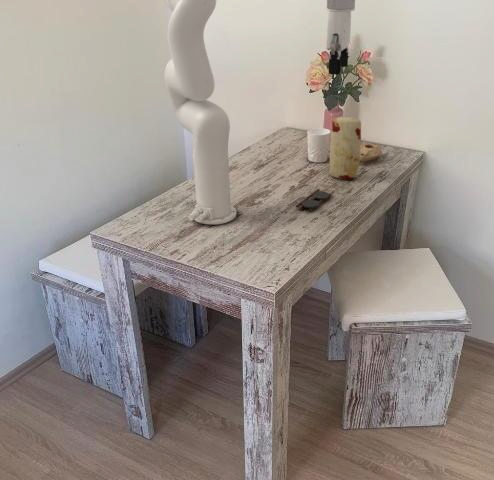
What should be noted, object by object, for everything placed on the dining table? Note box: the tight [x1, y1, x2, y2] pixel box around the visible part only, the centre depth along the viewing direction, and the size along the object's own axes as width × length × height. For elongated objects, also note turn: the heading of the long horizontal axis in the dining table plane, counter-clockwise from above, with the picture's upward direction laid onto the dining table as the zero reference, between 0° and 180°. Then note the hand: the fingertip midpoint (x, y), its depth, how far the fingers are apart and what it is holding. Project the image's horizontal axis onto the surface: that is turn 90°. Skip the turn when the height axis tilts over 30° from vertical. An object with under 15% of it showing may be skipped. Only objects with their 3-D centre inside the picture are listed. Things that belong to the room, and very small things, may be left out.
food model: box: [329, 115, 362, 181], centre depth 182 cm, size 10×7×20 cm
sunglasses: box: [295, 188, 331, 213], centre depth 171 cm, size 14×5×1 cm, turn 149°
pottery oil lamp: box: [359, 142, 383, 163], centre depth 199 cm, size 9×12×7 cm
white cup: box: [306, 127, 331, 164], centre depth 200 cm, size 8×8×10 cm
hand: (338, 70), depth 164 cm, fingers open, 9 cm apart
